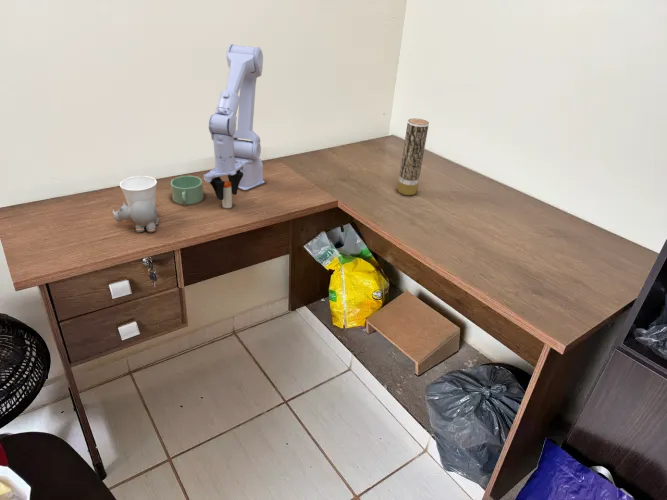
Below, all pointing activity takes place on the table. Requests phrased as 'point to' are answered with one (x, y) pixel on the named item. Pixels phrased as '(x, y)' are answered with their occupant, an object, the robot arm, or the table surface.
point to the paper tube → (412, 156)
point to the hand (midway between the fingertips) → (226, 196)
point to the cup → (139, 189)
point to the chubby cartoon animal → (139, 215)
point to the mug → (187, 190)
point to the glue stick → (227, 195)
